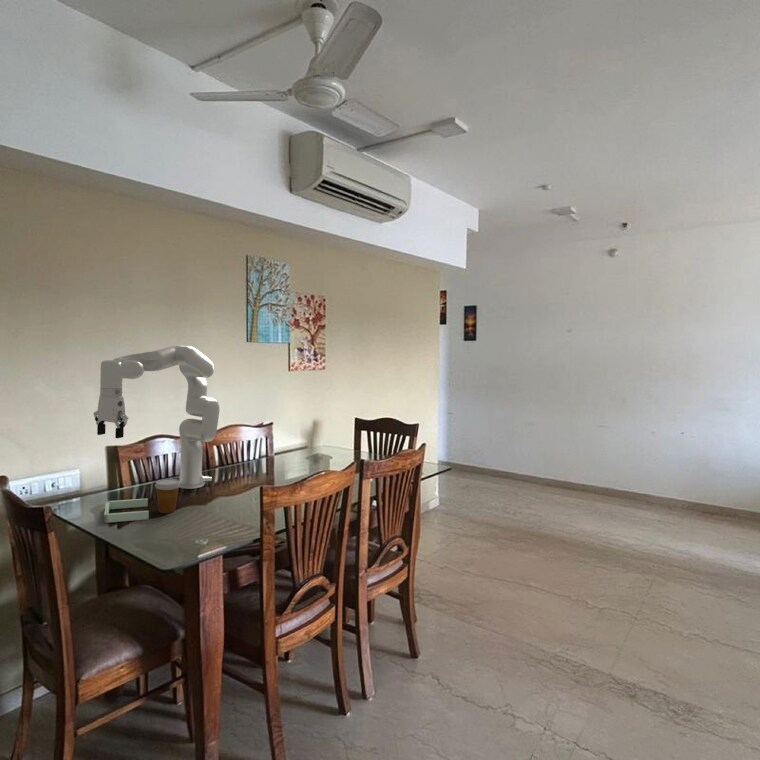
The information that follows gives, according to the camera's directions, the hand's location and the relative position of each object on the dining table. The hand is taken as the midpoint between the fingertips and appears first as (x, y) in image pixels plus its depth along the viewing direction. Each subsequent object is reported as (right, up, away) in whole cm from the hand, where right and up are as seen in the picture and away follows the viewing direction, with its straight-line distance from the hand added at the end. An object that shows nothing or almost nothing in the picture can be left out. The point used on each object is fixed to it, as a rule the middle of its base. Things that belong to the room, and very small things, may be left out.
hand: (110, 436), depth 203 cm
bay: (+6, -31, +2) cm, 31 cm away
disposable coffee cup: (+19, -31, +8) cm, 37 cm away
